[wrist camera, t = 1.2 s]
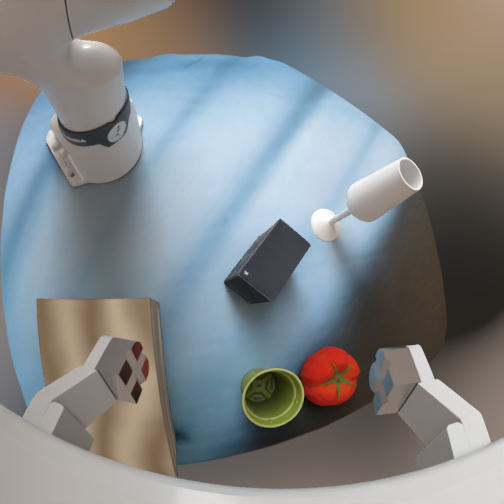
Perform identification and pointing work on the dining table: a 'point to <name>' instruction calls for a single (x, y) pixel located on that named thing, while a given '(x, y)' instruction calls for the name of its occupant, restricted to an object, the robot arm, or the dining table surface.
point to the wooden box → (121, 413)
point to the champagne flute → (371, 197)
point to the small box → (268, 264)
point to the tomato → (329, 376)
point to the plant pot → (271, 396)
